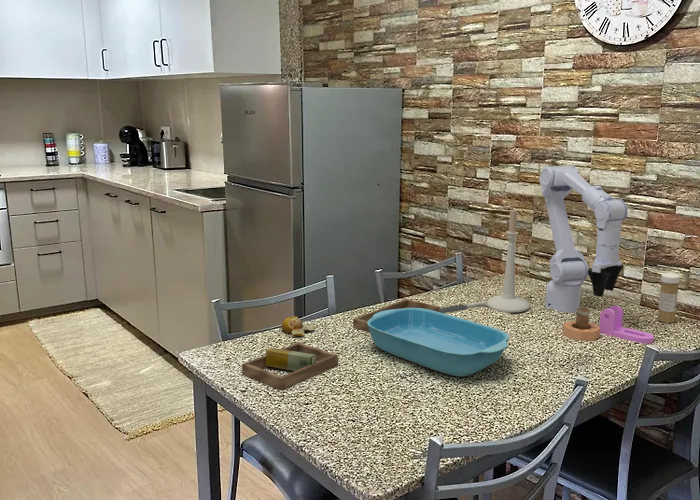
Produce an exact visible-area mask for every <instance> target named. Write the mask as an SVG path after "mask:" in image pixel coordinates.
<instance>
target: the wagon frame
mask: <svg viewBox="0 0 700 500" xmlns="http://www.w3.org/2000/svg"><path fill="white" fill-rule="evenodd" d="M403 308H423V309H428V310H433V311H436V312H440V308H441V307H440V306H439V305H434V304H431V303H426V302H421V301H417V300H413V299H408V298H405V299H402V300H400V301H397V302H394V303H392V304H390V305H387V306H384V307H382V308H379V309H376V310H373V311H371V312H367V313H366V314H363V315H360V316H358V317H357V316H356V317H355V318H353V319H352V327H353V329H356V330H360V331H364V332H366V333H370V331H369V327H368V324H367V322H368V320H370V319H371V318H373V315H374V314H376V313H378V312H381V311H385V310H392V309H403Z"/></svg>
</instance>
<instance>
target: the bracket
mask: <svg viewBox="0 0 700 500" xmlns="http://www.w3.org/2000/svg"><path fill="white" fill-rule="evenodd" d="M599 317H600V318H599V325H598V327H599V328H600V334H603V335H606V336H611V337H615V338H619V339H622V340H627V341H631V342H635V343H639V344H652V343H654V340H655V339H654V338H655V337H654V335H653V334H652V333H649V332H645V331H642V330H639V329H638V330H637V329H633V328H629V327H625V326H623V321H624V310H623V308H622V307H621V306H620V305H617V304H616V305H615V304H614V305H611V306H610V307H608V308H604V309H602V310H601V312H600V314H599Z"/></svg>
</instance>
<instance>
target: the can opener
mask: <svg viewBox="0 0 700 500" xmlns="http://www.w3.org/2000/svg"><path fill="white" fill-rule="evenodd" d="M476 307H481V308H486V307H487V302H485V301H478V302H471V303H466V304H458V305H451V306H446V307H440V313H444V314H447V313H454V312H459V311H460V312H461V311H466V310H467V309H471V308H472V309H473V308H476Z"/></svg>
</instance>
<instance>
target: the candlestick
mask: <svg viewBox="0 0 700 500" xmlns="http://www.w3.org/2000/svg"><path fill="white" fill-rule="evenodd" d="M517 215H518V210H517V209H514V208H513V209H510V210H509V225H508V230H507V231H506V232H505V233H506V234H507V239H508V244H507V253H506V260H505V261H506V262H505V272H504V281H503V289H502V294H499V295H495V296H492V297H490V298H488V299H487V301H486V307H488V308H489V309H492V310H494V311H497V312H501V313H521V312H526V311H528V310H530V308H531V304H530V302H529V301H528V300H526V299H524V298H523V297H520V296H518V295H517V296H516V286H515V285H516V284H515V282H516V243H515V241H516V239H517V235H518V234H519V232H518V231H517Z"/></svg>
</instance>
